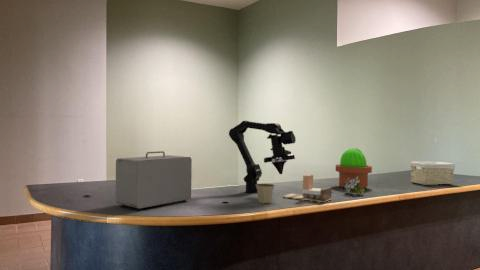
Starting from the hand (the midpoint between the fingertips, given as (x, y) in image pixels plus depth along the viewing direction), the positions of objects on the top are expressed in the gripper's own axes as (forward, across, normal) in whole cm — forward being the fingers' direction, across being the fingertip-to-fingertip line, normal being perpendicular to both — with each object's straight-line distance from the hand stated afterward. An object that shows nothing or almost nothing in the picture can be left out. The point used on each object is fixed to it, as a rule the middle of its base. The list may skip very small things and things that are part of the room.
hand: (281, 174), depth 204 cm
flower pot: (+12, -7, +21) cm, 25 cm away
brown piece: (+13, -17, -4) cm, 22 cm away
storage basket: (+23, -26, -117) cm, 122 cm away
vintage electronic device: (+5, +22, +66) cm, 70 cm away
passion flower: (+17, -20, -36) cm, 45 cm away
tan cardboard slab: (+14, -13, -3) cm, 20 cm away
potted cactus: (+16, -4, -58) cm, 61 cm away
